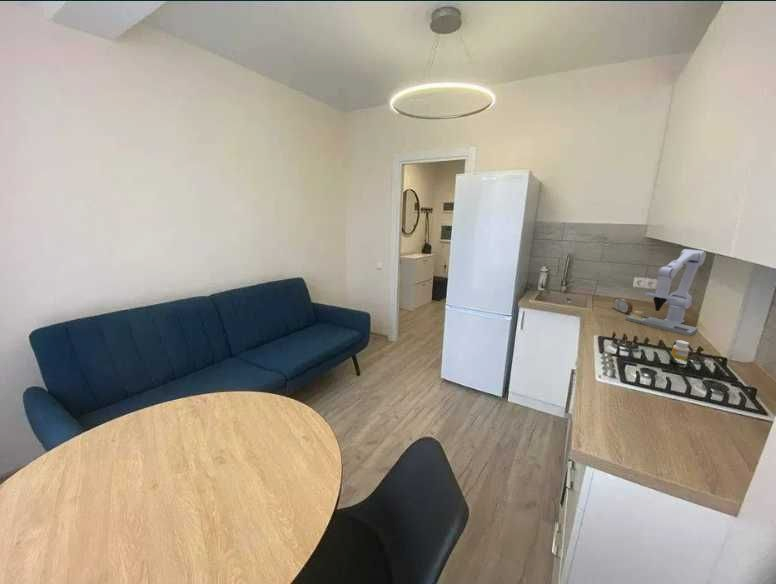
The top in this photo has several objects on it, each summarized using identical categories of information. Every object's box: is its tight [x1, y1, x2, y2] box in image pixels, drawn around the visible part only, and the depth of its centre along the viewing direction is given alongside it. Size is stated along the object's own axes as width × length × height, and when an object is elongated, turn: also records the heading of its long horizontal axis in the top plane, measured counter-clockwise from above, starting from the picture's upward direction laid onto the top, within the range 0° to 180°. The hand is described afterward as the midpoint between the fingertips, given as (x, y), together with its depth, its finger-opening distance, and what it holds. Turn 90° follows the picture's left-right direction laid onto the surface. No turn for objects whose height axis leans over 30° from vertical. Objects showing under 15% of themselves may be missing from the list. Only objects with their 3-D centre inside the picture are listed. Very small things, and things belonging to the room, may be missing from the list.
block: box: [632, 310, 645, 320], centre depth 193 cm, size 4×4×4 cm
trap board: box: [625, 313, 699, 337], centre depth 188 cm, size 14×30×2 cm, turn 35°
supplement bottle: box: [670, 339, 690, 360], centre depth 139 cm, size 5×5×10 cm
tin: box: [613, 297, 633, 314], centre depth 213 cm, size 15×3×8 cm, turn 179°
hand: (657, 310), depth 185 cm, fingers closed
